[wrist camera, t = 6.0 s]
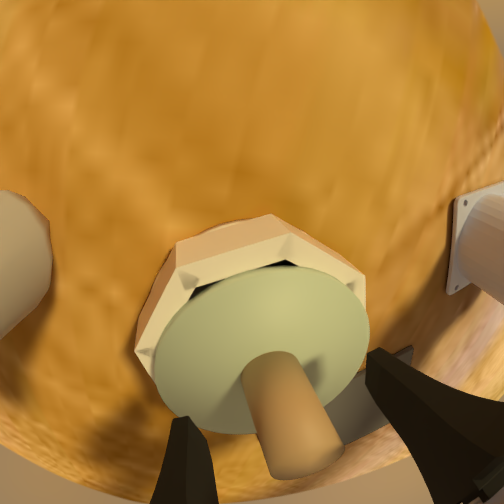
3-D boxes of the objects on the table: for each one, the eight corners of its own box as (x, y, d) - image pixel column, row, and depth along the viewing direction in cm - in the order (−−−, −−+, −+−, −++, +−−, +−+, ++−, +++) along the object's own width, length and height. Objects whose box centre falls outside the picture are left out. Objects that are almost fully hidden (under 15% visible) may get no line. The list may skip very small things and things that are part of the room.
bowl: (326, 193, 14) (361, 211, 11) (340, 347, 19) (363, 378, 16) (115, 257, 13) (100, 291, 10) (189, 398, 18) (194, 436, 15)
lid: (377, 248, 12) (469, 315, 7) (347, 400, 16) (388, 466, 11) (127, 286, 10) (102, 406, 5) (181, 437, 14) (193, 520, 9)
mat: (411, 345, 21) (413, 348, 21) (394, 416, 26) (396, 419, 26) (249, 413, 20) (251, 417, 19) (275, 467, 25) (277, 470, 24)
